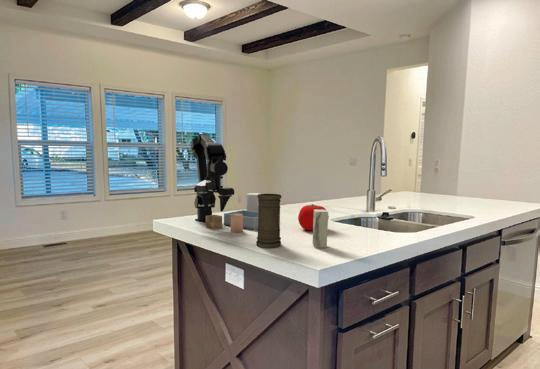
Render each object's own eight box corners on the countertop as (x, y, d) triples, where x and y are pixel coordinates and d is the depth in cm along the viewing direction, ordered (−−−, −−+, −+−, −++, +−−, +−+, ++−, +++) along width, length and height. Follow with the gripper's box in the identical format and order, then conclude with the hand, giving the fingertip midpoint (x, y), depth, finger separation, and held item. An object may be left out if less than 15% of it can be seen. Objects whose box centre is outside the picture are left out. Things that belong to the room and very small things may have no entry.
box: (312, 244, 136) (313, 209, 135) (324, 244, 137) (325, 209, 135) (315, 248, 131) (316, 211, 130) (327, 248, 131) (328, 211, 130)
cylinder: (227, 231, 155) (228, 214, 154) (236, 229, 159) (236, 213, 158) (237, 233, 152) (237, 216, 151) (245, 231, 156) (245, 214, 155)
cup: (260, 220, 181) (261, 195, 180) (244, 219, 182) (244, 194, 181) (264, 217, 189) (264, 193, 187) (248, 216, 190) (248, 192, 189)
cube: (205, 227, 162) (205, 216, 162) (213, 225, 166) (213, 214, 166) (213, 229, 159) (213, 217, 159) (222, 227, 163) (222, 215, 163)
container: (263, 249, 128) (263, 196, 127) (251, 243, 136) (252, 193, 135) (285, 246, 133) (287, 195, 131) (273, 240, 141) (274, 192, 139)
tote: (223, 224, 169) (223, 213, 168) (243, 220, 179) (243, 209, 179) (254, 230, 159) (254, 218, 158) (272, 225, 169) (272, 214, 169)
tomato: (292, 229, 161) (292, 204, 160) (310, 225, 170) (311, 201, 169) (314, 234, 153) (315, 207, 152) (333, 229, 162) (333, 204, 161)
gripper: (184, 173, 160) (184, 210, 161) (216, 176, 149) (216, 215, 150) (203, 172, 169) (203, 206, 170) (235, 174, 158) (235, 211, 159)
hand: (213, 210), depth 162 cm, fingers open, 9 cm apart
